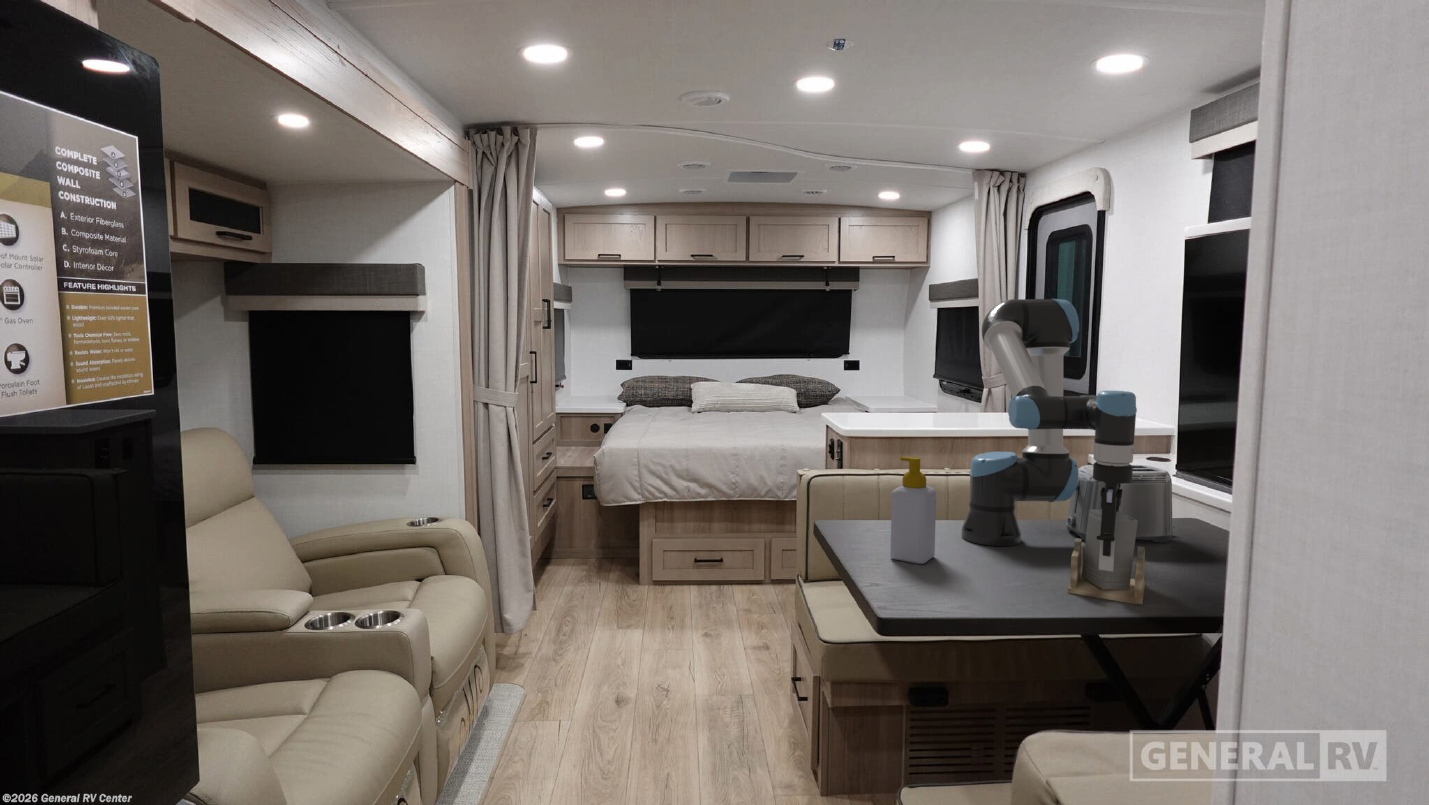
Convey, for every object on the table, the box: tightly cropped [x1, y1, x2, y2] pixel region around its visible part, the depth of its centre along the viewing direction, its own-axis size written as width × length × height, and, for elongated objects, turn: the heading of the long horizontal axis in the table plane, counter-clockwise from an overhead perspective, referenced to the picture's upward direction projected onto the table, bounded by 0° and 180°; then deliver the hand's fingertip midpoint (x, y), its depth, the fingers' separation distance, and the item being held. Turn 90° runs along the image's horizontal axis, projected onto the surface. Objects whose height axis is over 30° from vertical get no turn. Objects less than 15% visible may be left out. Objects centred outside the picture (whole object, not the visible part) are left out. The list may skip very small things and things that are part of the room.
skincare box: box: [1081, 509, 1138, 590], centre depth 164 cm, size 8×7×16 cm
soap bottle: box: [889, 456, 937, 565], centre depth 186 cm, size 9×9×25 cm
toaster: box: [1065, 464, 1175, 544], centre depth 204 cm, size 17×30×19 cm, turn 87°
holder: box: [1067, 537, 1146, 606], centre depth 164 cm, size 14×14×10 cm
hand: (1108, 563), depth 164 cm, fingers open, 10 cm apart
